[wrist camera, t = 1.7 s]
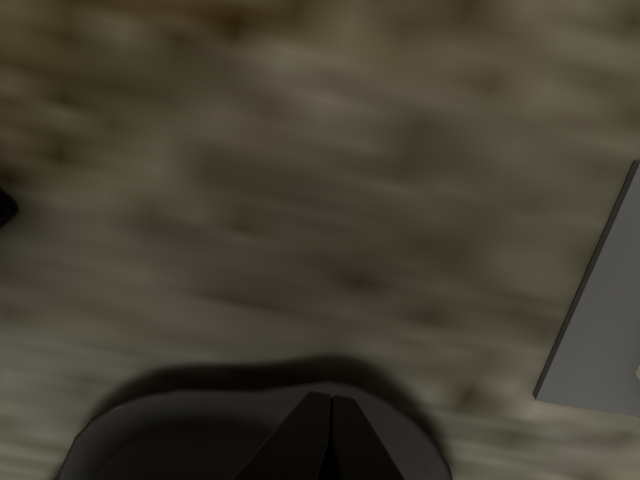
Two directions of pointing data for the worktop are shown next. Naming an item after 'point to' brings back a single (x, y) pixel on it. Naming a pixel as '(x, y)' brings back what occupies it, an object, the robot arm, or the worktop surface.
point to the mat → (603, 321)
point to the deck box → (638, 372)
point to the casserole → (226, 434)
